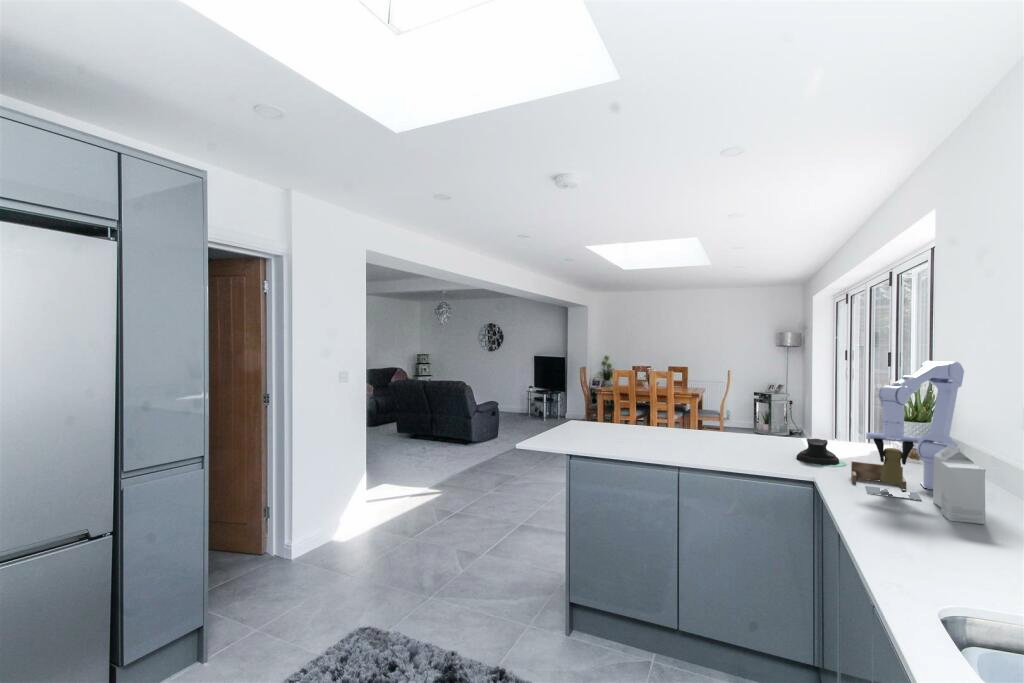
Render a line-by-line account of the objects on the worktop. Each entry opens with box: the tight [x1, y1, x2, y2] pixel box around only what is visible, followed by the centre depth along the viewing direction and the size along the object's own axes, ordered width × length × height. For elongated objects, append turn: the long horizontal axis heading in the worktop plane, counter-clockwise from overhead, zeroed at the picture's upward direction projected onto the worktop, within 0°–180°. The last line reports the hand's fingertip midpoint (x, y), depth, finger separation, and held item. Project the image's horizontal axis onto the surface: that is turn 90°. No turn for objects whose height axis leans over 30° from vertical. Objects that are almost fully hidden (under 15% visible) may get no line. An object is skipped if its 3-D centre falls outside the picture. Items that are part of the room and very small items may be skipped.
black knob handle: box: [795, 438, 847, 468], centre depth 210 cm, size 20×20×9 cm
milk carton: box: [932, 443, 975, 508], centre depth 151 cm, size 7×7×19 cm
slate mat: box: [865, 485, 923, 501], centre depth 165 cm, size 14×9×1 cm, turn 58°
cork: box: [880, 447, 903, 485], centre depth 165 cm, size 6×6×11 cm
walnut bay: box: [850, 461, 907, 490], centre depth 177 cm, size 15×10×6 cm, turn 58°
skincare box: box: [940, 462, 986, 525], centre depth 141 cm, size 8×7×16 cm
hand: (892, 462), depth 165 cm, fingers closed on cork, 5 cm apart
